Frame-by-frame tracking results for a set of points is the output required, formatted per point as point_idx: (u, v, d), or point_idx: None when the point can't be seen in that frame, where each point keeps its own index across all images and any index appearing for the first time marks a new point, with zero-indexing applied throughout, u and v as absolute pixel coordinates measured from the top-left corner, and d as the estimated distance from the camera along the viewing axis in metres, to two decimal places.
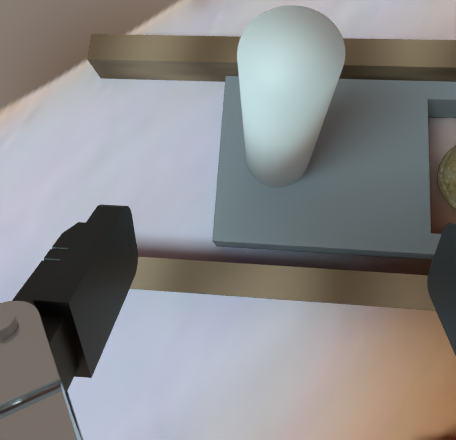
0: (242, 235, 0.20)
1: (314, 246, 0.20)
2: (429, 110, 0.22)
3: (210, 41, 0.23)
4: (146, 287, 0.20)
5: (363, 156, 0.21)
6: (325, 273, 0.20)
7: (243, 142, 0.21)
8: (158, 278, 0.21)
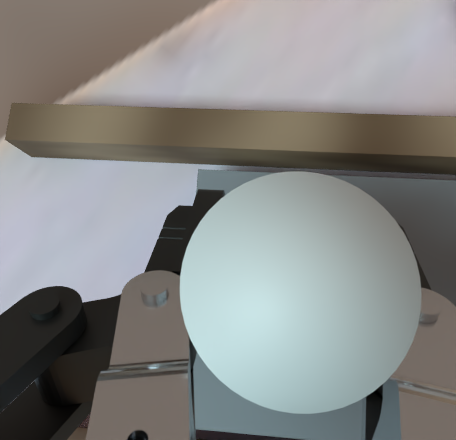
0: (220, 420, 0.14)
1: (328, 439, 0.13)
2: None
3: (177, 115, 0.16)
4: None
5: None
6: None
7: None
8: None
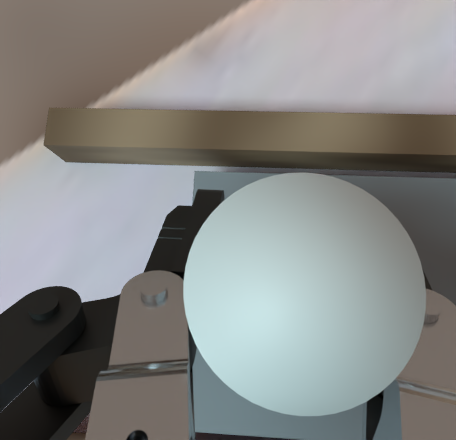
0: (222, 422, 0.14)
1: (330, 439, 0.13)
2: None
3: (220, 118, 0.16)
4: None
5: None
6: None
7: None
8: None
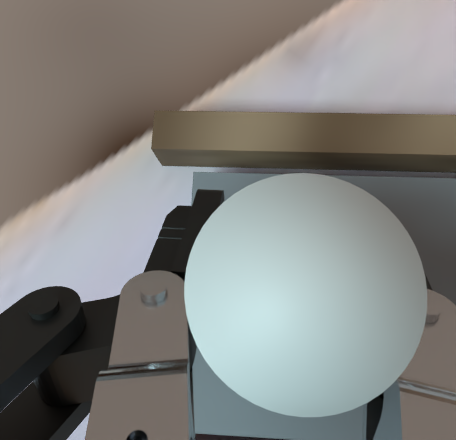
0: (222, 423, 0.14)
1: None
2: None
3: (332, 121, 0.16)
4: None
5: None
6: None
7: None
8: None
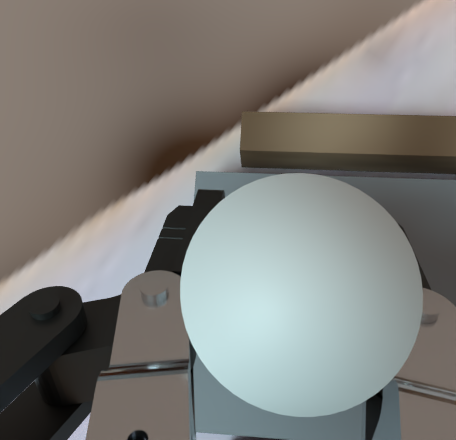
0: (221, 422, 0.14)
1: None
2: None
3: (426, 123, 0.15)
4: None
5: None
6: None
7: None
8: None
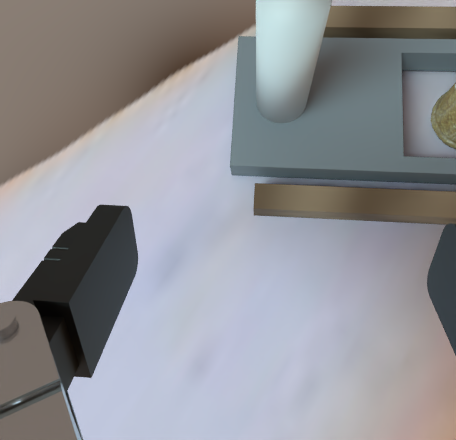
0: (254, 160, 0.25)
1: (311, 168, 0.25)
2: (403, 63, 0.27)
3: (369, 10, 0.27)
4: (333, 210, 0.25)
5: (350, 98, 0.26)
6: None
7: (253, 88, 0.26)
8: (343, 203, 0.25)
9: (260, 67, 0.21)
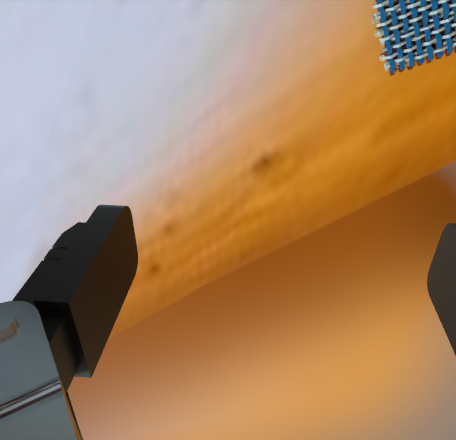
0: None
1: None
2: None
3: None
4: None
5: None
6: None
7: None
8: None
9: None
